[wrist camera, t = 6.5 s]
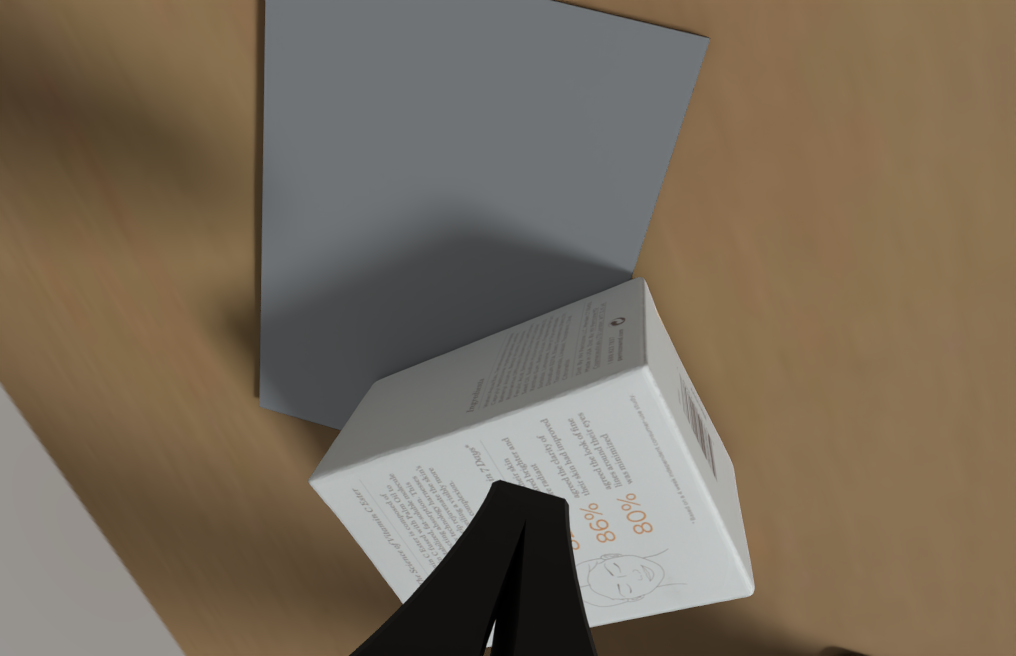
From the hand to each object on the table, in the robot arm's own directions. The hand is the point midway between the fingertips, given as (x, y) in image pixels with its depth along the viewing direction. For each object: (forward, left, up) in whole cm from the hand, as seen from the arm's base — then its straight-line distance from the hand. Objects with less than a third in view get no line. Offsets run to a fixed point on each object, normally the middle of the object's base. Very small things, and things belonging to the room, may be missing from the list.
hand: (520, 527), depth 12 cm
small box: (-5, +1, -7) cm, 9 cm away
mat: (+5, 0, -10) cm, 11 cm away
